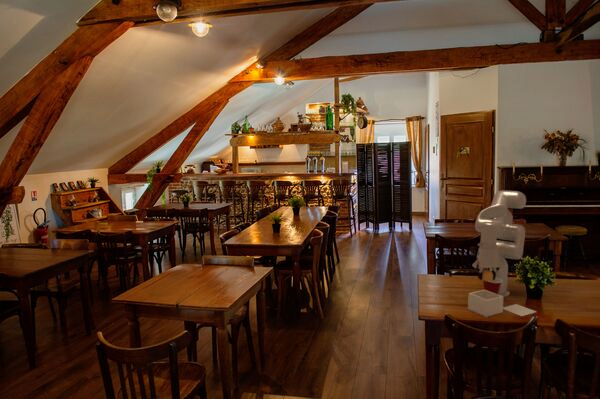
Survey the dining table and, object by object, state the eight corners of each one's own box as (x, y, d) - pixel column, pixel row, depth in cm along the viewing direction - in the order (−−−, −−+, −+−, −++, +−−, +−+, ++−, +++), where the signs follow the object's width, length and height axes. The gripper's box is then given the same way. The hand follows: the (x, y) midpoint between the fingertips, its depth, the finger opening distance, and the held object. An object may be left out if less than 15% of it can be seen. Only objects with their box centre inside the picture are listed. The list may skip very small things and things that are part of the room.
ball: (477, 280, 226) (478, 269, 225) (485, 278, 228) (486, 267, 227) (487, 283, 220) (487, 272, 219) (495, 281, 223) (496, 270, 222)
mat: (501, 309, 230) (501, 308, 229) (516, 304, 235) (516, 304, 235) (521, 317, 219) (521, 316, 219) (536, 312, 224) (536, 311, 224)
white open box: (467, 309, 230) (468, 293, 228) (483, 305, 235) (484, 289, 234) (486, 317, 219) (487, 300, 218) (502, 313, 224) (503, 296, 223)
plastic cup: (501, 303, 237) (502, 282, 236) (480, 300, 242) (481, 279, 241) (502, 297, 247) (503, 276, 245) (482, 293, 252) (483, 274, 250)
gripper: (474, 247, 218) (472, 281, 221) (508, 247, 218) (506, 281, 220) (468, 244, 226) (467, 277, 228) (501, 243, 225) (499, 277, 228)
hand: (486, 278), depth 224 cm, fingers closed on ball, 5 cm apart
